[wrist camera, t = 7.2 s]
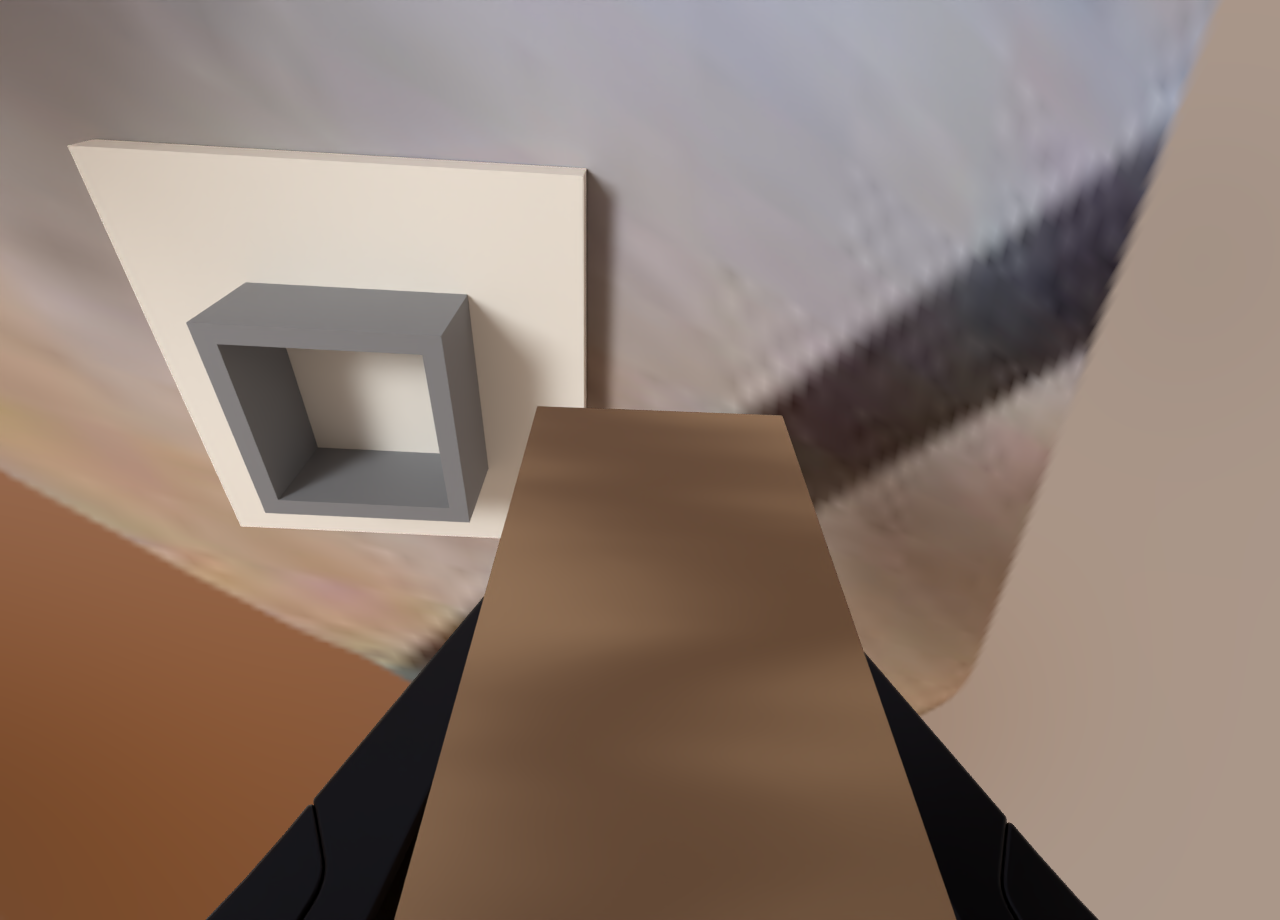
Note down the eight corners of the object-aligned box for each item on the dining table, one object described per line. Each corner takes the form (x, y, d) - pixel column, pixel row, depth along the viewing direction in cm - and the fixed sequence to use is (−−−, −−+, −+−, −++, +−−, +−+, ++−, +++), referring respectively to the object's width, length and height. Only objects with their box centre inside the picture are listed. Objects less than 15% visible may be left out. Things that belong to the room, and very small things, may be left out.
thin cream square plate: (586, 168, 18) (572, 203, 14) (586, 525, 26) (577, 598, 23) (93, 139, 17) (-33, 168, 14) (253, 510, 26) (197, 581, 22)
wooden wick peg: (781, 416, 10) (1154, 1490, 3) (746, 584, 12) (894, 1402, 5) (537, 406, 10) (236, 1487, 3) (548, 577, 12) (407, 1400, 5)
